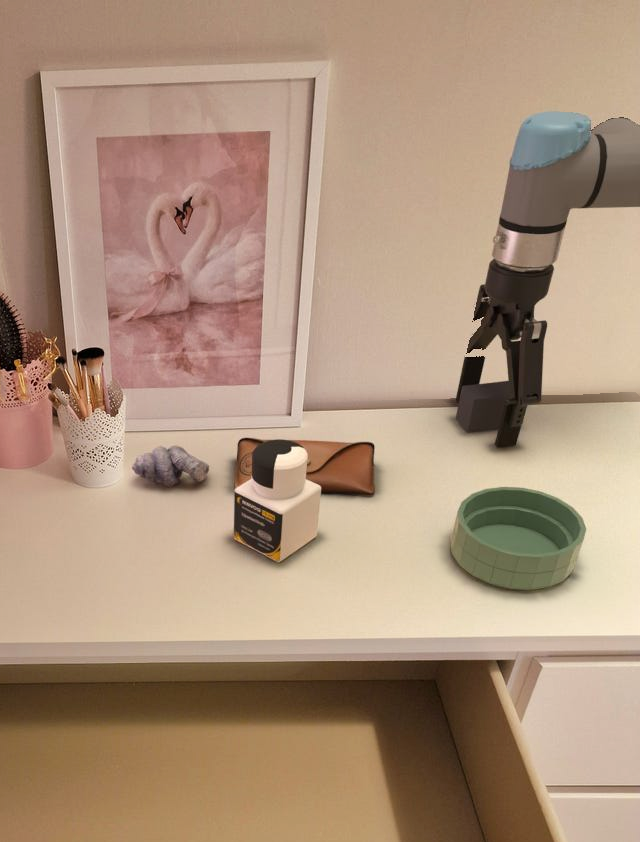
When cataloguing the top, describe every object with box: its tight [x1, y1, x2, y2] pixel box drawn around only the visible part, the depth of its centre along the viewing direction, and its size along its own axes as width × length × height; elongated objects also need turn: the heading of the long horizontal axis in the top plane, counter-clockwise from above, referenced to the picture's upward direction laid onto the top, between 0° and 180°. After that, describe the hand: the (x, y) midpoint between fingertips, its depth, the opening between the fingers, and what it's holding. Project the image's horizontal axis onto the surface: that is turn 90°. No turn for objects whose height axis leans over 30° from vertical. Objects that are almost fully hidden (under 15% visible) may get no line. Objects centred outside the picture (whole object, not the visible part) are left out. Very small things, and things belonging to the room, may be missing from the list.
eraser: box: [454, 380, 510, 434], centre depth 119 cm, size 7×4×5 cm, turn 99°
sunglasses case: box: [233, 437, 376, 495], centre depth 111 cm, size 18×7×7 cm
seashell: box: [131, 444, 210, 488], centre depth 111 cm, size 5×5×10 cm
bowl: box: [450, 486, 587, 591], centre depth 97 cm, size 13×13×5 cm
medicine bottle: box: [233, 438, 322, 563], centre depth 99 cm, size 7×7×12 cm
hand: (484, 421), depth 120 cm, fingers open, 12 cm apart
